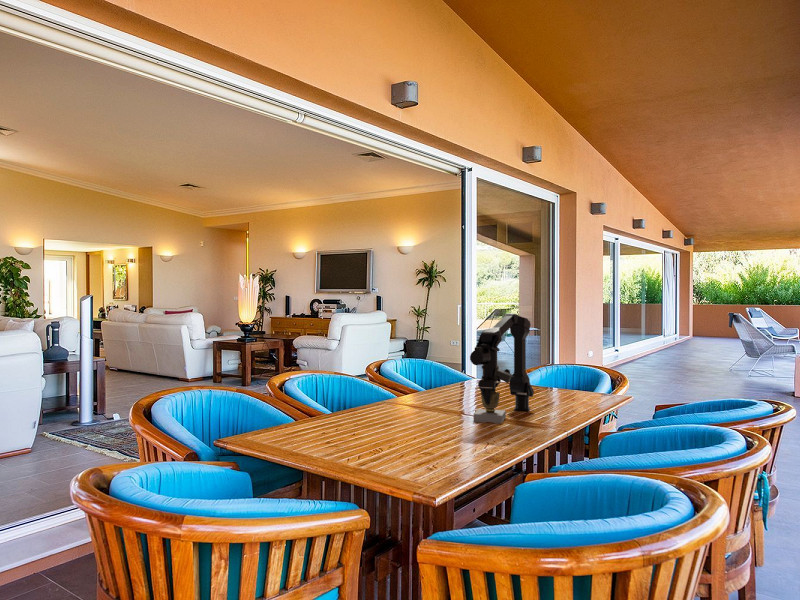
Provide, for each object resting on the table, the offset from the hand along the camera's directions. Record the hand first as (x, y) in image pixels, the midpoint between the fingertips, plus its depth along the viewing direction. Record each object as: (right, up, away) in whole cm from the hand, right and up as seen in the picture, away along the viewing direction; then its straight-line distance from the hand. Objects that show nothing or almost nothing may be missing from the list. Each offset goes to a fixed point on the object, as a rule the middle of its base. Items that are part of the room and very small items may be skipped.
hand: (489, 402), depth 227 cm
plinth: (0, -7, 0) cm, 7 cm away
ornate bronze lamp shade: (0, -4, 0) cm, 4 cm away
